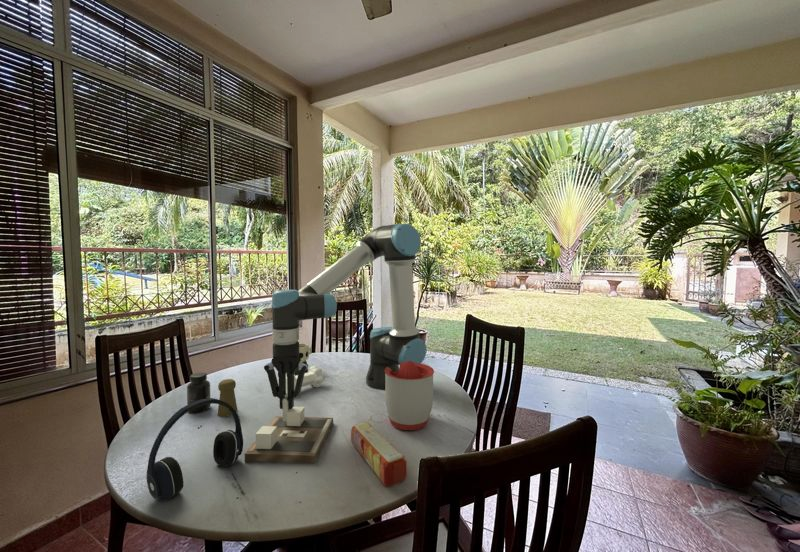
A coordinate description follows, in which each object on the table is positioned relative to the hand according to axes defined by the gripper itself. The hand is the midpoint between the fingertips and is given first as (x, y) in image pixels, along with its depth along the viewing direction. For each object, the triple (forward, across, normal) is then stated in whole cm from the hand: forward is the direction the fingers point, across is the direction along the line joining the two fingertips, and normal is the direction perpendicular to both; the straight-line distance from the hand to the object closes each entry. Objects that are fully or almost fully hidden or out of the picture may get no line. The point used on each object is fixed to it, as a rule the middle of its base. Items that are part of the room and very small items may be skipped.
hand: (286, 418), depth 101 cm
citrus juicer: (+4, +36, +7) cm, 37 cm away
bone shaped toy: (+4, -5, +30) cm, 31 cm away
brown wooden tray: (+3, +4, -6) cm, 8 cm away
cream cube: (+1, -1, -12) cm, 12 cm away
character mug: (+4, -12, +48) cm, 49 cm away
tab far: (+1, +3, 0) cm, 3 cm away
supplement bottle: (+4, -35, +12) cm, 37 cm away
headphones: (+4, -12, -23) cm, 26 cm away
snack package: (+4, +28, -15) cm, 32 cm away
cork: (+4, -24, +10) cm, 26 cm away
